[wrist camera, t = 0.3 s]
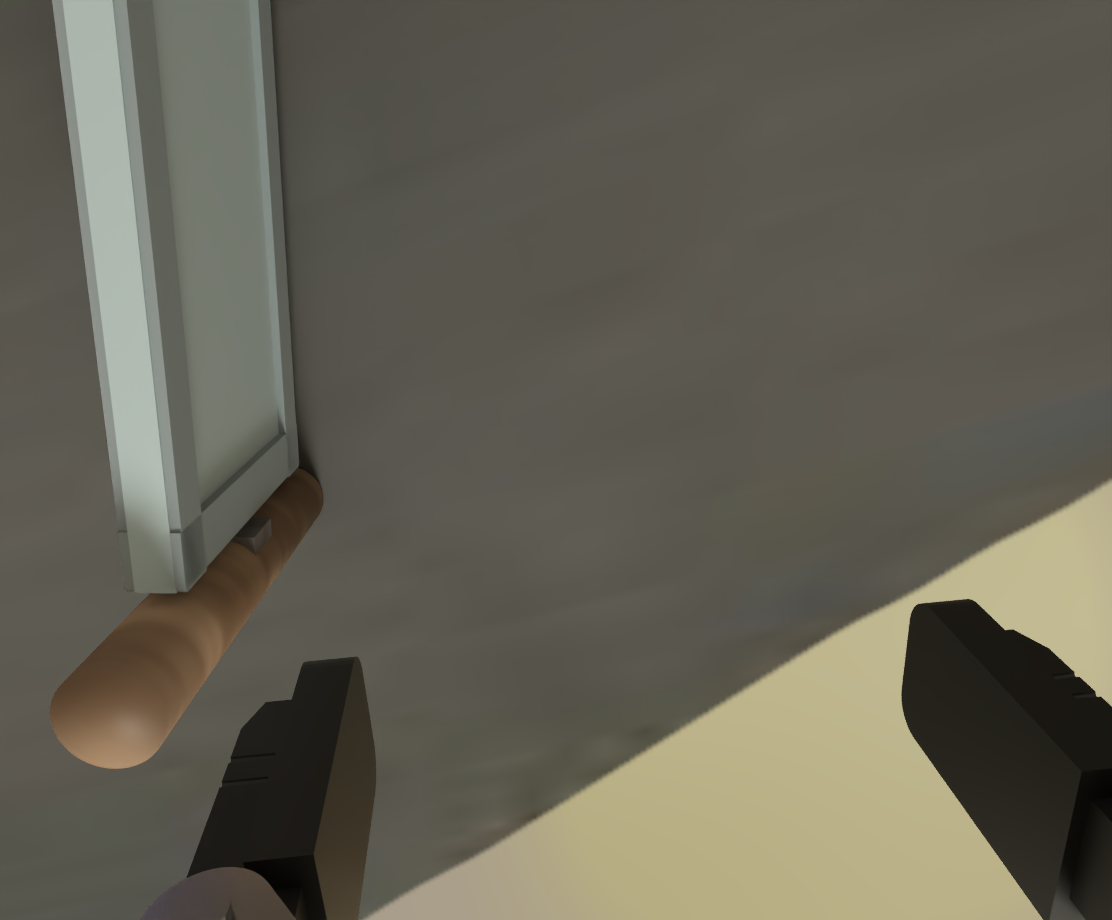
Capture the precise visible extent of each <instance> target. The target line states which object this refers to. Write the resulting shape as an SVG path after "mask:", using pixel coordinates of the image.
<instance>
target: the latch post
mask: <svg viewBox="0 0 1112 920" xmlns="http://www.w3.org/2000/svg"><path fill="white" fill-rule="evenodd" d="M322 506H323V493H322V489H321V487H320V485H319V483H318V482H317V480H316V479H315V478H314V477H313V476H312V475H311V474H310V473H308V472H307V471H305V470H303V469H300V468H297V469H296V470H295V471H294V472H293V473H292V474H291V476H290V477H287V478H286V479H285V480H284V481H283V482H282V483H281V484H280V486H279V487H278V488H277V489H276V490H275V491H274V492H273V493H272V495H271V496H270V497H269V498H268V499H267V500H266V501H265V502H264V503H263V505H262V506H261V507H260V508H259V509H258V510H257V511H256V512H255V514H254V515H253V516H252V517H251V518H250V519H249V520H248V521H247V523H246V524H245V525H244V526H243V527H242V528H241V529H240V530H239V532H238V533H237V534H236V535H235V536H234V537H233V538H232V539H231V540H230V542H229V543H228V544H227V545H226V546H225V547H224V548H223V549H222V551H221V552H220V553H219V554H218V555H217V556H216V557H215V558H214V560H213V561H212V562H211V563H210V564H209V565H208V566H207V571H206V572H205V573H204V574H203V575H202V576H201V577H200V579H199V580H198V581H197V582H196V583H195V584H194V585H193V587H192V588H191V589H190V590H189V591H188V592H177V593H150V594H149V595H148V596H147V597H146V598H145V599H144V600H143V601H142V602H141V603H140V604H139V605H138V606H137V607H136V608H135V609H134V611H133V612H132V613H131V614H130V615H129V616H128V617H127V618H126V619H125V620H124V621H123V622H122V623H121V624H120V625H119V626H118V627H117V628H116V629H115V630H114V631H113V632H112V633H111V634H110V635H109V636H108V637H107V638H106V639H105V640H104V641H103V642H102V643H101V644H100V645H99V646H98V647H97V648H96V649H95V650H94V651H93V653H92V654H91V655H90V656H89V657H88V658H87V659H86V660H85V661H84V662H83V663H82V664H81V665H80V666H79V667H78V668H77V669H76V670H75V671H74V672H73V673H72V674H71V675H70V676H69V677H68V678H67V679H66V680H65V681H64V682H63V683H62V684H61V686H60V687H59V688H58V689H57V691H56V692H55V694H54V696H53V699H52V702H51V706H50V719H51V724H52V727H53V730H54V732H55V734H56V736H57V738H58V739H59V740H60V742H61V743H62V744H63V746H64V747H65V748H66V749H67V750H68V751H70V752H71V753H72V754H73V755H75V756H76V757H78V758H79V759H81V760H83V761H85V762H87V763H90V764H92V765H95V766H99V767H104V768H113V769H118V768H127V767H132V766H135V765H138V764H140V763H142V762H144V761H146V760H147V759H149V758H150V757H151V756H152V755H154V754H155V752H156V751H157V750H158V749H159V747H160V746H161V744H162V743H163V742H164V740H165V739H166V737H167V736H168V734H169V733H170V731H171V730H172V728H173V727H174V725H175V724H176V723H177V721H178V720H179V718H180V717H181V715H182V714H183V712H184V711H185V709H186V708H187V707H188V705H189V704H190V702H191V701H192V699H193V698H194V696H195V695H196V693H197V692H198V690H199V689H200V688H201V686H202V685H203V683H204V682H205V680H206V679H207V677H208V676H209V674H210V673H211V671H212V670H213V669H214V667H215V666H216V664H217V663H218V661H219V660H220V658H221V657H222V655H223V654H224V652H225V651H226V650H227V648H228V647H229V645H230V644H231V642H232V641H233V639H234V638H235V636H236V635H237V633H238V632H239V631H240V629H241V628H242V626H243V625H244V623H245V622H246V620H247V619H248V617H249V616H250V614H251V613H252V612H253V610H254V609H255V607H256V606H257V604H258V603H259V601H260V600H261V598H262V597H263V595H264V594H265V593H266V591H267V590H268V588H269V587H270V585H271V584H272V582H273V581H274V579H275V578H276V576H277V575H278V574H279V572H280V571H281V569H282V568H283V566H284V565H285V563H286V562H287V560H288V559H289V557H290V556H291V555H292V553H293V552H294V550H295V549H296V547H297V546H298V544H299V543H300V541H301V540H302V538H303V537H304V536H305V534H306V533H307V531H308V530H309V528H310V527H311V525H312V524H313V522H314V521H315V519H316V518H317V517H318V515H319V514H320V512H321V509H322Z"/></svg>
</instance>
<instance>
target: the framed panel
mask: <svg viewBox="0 0 1112 920" xmlns="http://www.w3.org/2000/svg"><path fill="white" fill-rule="evenodd" d="M52 3H53V11H54V19H55V27H56V35H57V43H58V51H59V59H60V67H61V75H62V83H63V91H64V99H65V107H66V115H67V123H68V131H69V139H70V147H71V155H72V163H73V171H74V179H75V187H76V195H77V203H78V211H79V219H80V227H81V235H82V243H83V251H84V259H85V267H86V275H87V283H88V291H89V299H90V307H91V315H92V323H93V331H94V339H95V347H96V355H97V363H98V371H99V379H100V387H101V395H102V403H103V411H104V419H105V427H106V435H107V443H108V451H109V459H110V467H111V475H112V483H113V491H114V499H115V507H116V515H117V523H118V532H117V537H118V545H119V553H120V561H121V569H122V577H123V585H124V590H126V591H135V593H177V592H188V591H189V590H190V589H191V588H192V587H193V585H194V584H195V583H196V582H197V581H198V580H199V579H200V577H201V576H202V575H203V574H204V573H205V572H206V571H207V566H208V565H209V564H210V563H211V562H212V561H213V560H214V558H215V557H216V556H217V555H218V554H219V553H220V552H221V551H222V549H223V548H224V547H225V546H226V545H227V544H228V543H229V542H230V540H231V539H232V538H233V537H234V536H235V535H236V534H237V533H238V532H239V530H240V529H241V528H242V527H243V526H244V525H245V524H246V523H247V521H248V520H249V519H250V518H251V517H252V516H253V515H254V514H255V512H256V511H257V510H258V509H259V508H260V507H261V506H262V505H263V503H264V502H265V501H266V500H267V499H268V498H269V497H270V496H271V495H272V493H273V492H274V491H275V490H276V489H277V488H278V487H279V486H280V484H281V483H282V482H283V481H284V480H285V479H286V478H287V477H290V476H291V474H292V473H293V472H294V471H295V470H296V469H297V468H298V467H299V453H298V436H297V424H296V414H295V398H294V381H293V365H292V349H291V332H290V316H289V300H288V283H287V267H286V251H285V234H284V218H283V202H282V185H281V169H280V153H279V136H278V120H277V104H276V87H275V71H274V55H273V38H272V22H271V6H270V0H52Z"/></svg>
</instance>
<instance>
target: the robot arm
mask: <svg viewBox="0 0 1112 920" xmlns="http://www.w3.org/2000/svg"><path fill="white" fill-rule="evenodd" d="M902 707H903V712H904V716H905V720H906V722H907V725H908V728H909V730H910V732H911V734H912V735H913V737H914V739H915V740H916V741H917V743H918V744H919V746H920V747H921V748H922V750H923V751H924V753H925V754H926V755H927V756H928V758H929V760H930V761H931V762H932V764H933V765H934V767H935V768H936V770H937V771H938V772H939V774H940V775H941V777H942V778H943V779H944V781H945V782H946V784H947V785H948V786H949V788H950V789H951V791H952V792H953V793H954V795H955V796H956V798H957V799H958V800H959V802H960V803H961V804H962V806H963V807H964V809H965V810H966V812H967V813H968V814H969V816H970V817H971V819H972V820H973V821H974V823H975V824H976V826H977V827H978V829H979V830H980V831H981V833H982V834H983V836H984V837H985V838H986V840H987V841H988V842H989V844H990V845H991V847H992V848H993V850H994V851H995V852H996V854H997V855H998V856H999V858H1000V859H1001V861H1002V862H1003V864H1004V865H1005V866H1006V868H1007V869H1008V871H1009V872H1010V873H1011V875H1012V876H1013V878H1014V879H1015V880H1016V882H1017V883H1018V885H1019V886H1020V888H1021V889H1022V890H1023V892H1024V893H1025V895H1026V896H1027V897H1028V899H1029V900H1030V901H1031V903H1032V904H1033V906H1034V907H1035V909H1036V910H1037V911H1038V913H1039V914H1040V916H1041V917H1042V918H1043V920H1112V707H1111V706H1110V705H1109V704H1108V703H1107V702H1106V701H1105V700H1104V699H1103V698H1102V697H1096V694H1095V691H1094V690H1093V689H1092V688H1091V687H1090V686H1089V685H1088V684H1087V683H1086V682H1084V681H1083V680H1082V679H1081V678H1080V677H1075V675H1074V671H1072V670H1071V669H1070V668H1069V667H1068V666H1067V665H1066V664H1065V663H1064V662H1063V661H1062V660H1061V659H1059V658H1058V657H1057V656H1056V655H1055V654H1054V653H1053V652H1052V651H1051V650H1050V649H1049V648H1047V647H1045V646H1043V645H1041V644H1039V643H1037V642H1035V641H1034V640H1032V639H1030V638H1028V637H1026V636H1024V635H1022V634H1020V633H1018V632H1017V631H1015V630H1004V629H1003V628H1002V627H1001V626H1000V625H999V624H998V623H997V622H996V621H995V620H994V619H993V618H992V617H991V616H990V615H989V614H988V613H987V612H985V610H984V609H982V608H981V607H980V606H979V605H978V604H977V603H976V602H975V601H973V600H970V599H965V600H954V601H944V602H933V603H923V604H918V605H916V606H915V607H914V609H913V611H912V613H911V617H910V625H909V632H908V641H907V650H906V658H905V667H904V675H903V684H902ZM375 789H376V757H375V747H374V740H373V734H372V727H371V721H370V715H369V709H368V703H367V696H366V690H365V684H364V678H363V672H362V667H361V663H360V660H359V658H358V657H349V658H339V659H328V660H318V661H308V662H304V663H303V665H302V667H301V670H300V674H299V677H298V680H297V684H296V687H295V690H294V694H293V697H292V700H284V701H274V702H266V703H265V704H264V705H263V706H262V707H261V708H260V709H259V710H258V711H257V712H256V713H255V715H254V716H253V717H252V718H251V719H250V720H249V721H248V722H247V723H246V724H245V725H244V726H243V727H242V728H241V731H240V734H239V736H238V739H237V742H236V745H235V747H234V750H233V753H232V755H231V763H229V764H228V766H227V769H226V772H225V774H224V777H223V780H222V787H221V788H219V791H218V794H217V796H216V799H215V802H214V804H213V807H212V810H211V813H210V815H209V818H208V821H207V823H206V826H205V829H204V832H203V834H202V837H201V840H200V842H199V845H198V848H197V851H196V853H195V856H194V859H193V862H192V864H191V867H190V870H189V872H188V875H187V878H186V879H184V880H182V881H180V882H178V883H177V884H175V885H174V886H172V887H171V888H169V889H168V890H167V891H165V892H164V893H163V894H162V895H161V896H159V897H158V898H157V899H156V900H155V901H154V902H153V903H152V904H151V905H150V906H149V908H148V909H147V910H146V912H145V913H144V914H143V915H142V917H141V919H140V920H358V915H359V907H360V900H361V893H362V885H363V878H364V871H365V863H366V856H367V849H368V841H369V834H370V827H371V819H372V812H373V805H374V797H375Z"/></svg>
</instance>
